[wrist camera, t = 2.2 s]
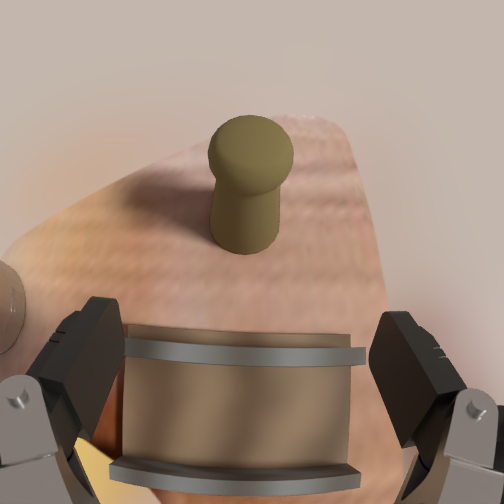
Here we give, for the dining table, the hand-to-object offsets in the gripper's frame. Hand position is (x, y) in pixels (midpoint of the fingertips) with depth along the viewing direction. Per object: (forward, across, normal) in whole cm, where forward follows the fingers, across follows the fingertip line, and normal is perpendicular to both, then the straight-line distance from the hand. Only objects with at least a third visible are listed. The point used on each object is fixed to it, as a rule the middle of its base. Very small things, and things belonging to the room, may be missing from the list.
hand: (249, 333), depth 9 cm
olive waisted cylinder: (+19, 0, +3) cm, 19 cm away
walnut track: (+8, 0, +14) cm, 16 cm away
